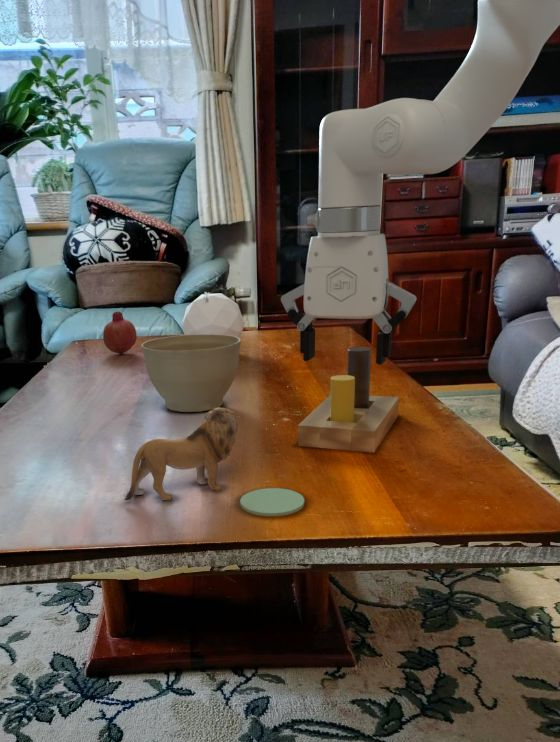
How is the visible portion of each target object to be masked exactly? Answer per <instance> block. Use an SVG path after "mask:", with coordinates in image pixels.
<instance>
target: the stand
mask: <svg viewBox="0 0 560 742" xmlns="http://www.w3.org/2000/svg"><path fill="white" fill-rule="evenodd" d="M399 404H400V397H399V396H383V395H369V409H365V408H354V423H352V422H338V421H330V395H329V396H327V397H326V398H325V399H324V400H323V401H321V403H320V404H319V405H318V406H316V408H314V409H313V411H311V413H309V414H308V415H307V416H306V417H305V418H304V419H303V420H302V421H301V422H300V423H299V424H298V425H297V446H298V447H306V448H307V447H308V448H318V449H319V448H320V449H329V450H342V451H353V452H354V451H355V452H364V453H375V452H376V451H377V449H378V447H379V446H380V444H381V443H382V441H383V440H384V438H385V436H386V435H387V434H388V432H389V431H390V429H391V428H392V426H393V425H394V423H395V421H396V420H397V419H398V417H399V406H400V405H399Z"/></svg>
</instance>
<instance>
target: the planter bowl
mask: <svg viewBox="0 0 560 742" xmlns="http://www.w3.org/2000/svg"><path fill="white" fill-rule="evenodd" d="M241 345H242V340H241V338H238V337H236V336H231V335H220V334H191V335H184V334H179V335H171V336H165V337H158V338H153V339H149V340H147V341H145V342H142V343H141V345H140V346H141V351H142V354H143V359H144V364H145V369H146V372H147V375H148V378H149V380H150V382H151V384H152V386H153V388H154V389H155V390H156V392H157V393H158V394H159V395H160V397H161V398H162V399H163V400H164V404H165V407H166V408H167V409H168V410H170V411H174V412H181V413H197V412H198V413H199V412H205V411H206V412H207V411H212V410H213V409H214V408H219V407H220V408H221V406H222V405H223V403H224V397H225V395H226V394H227V393H228V391H229V390H230V388H231V386H232V384H233V382H234V381H235V378H236V375H237V372H238V368H239V363H240V348H241Z"/></svg>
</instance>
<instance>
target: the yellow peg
mask: <svg viewBox="0 0 560 742" xmlns="http://www.w3.org/2000/svg"><path fill="white" fill-rule="evenodd" d="M329 391H330V392H329V393H330V395H329V396H330V421H338V422H352V423H354V395H355V377H354V376H350V375H347V374H338V375H333V376H331V377H330V390H329Z"/></svg>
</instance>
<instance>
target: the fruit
mask: <svg viewBox="0 0 560 742" xmlns="http://www.w3.org/2000/svg"><path fill="white" fill-rule="evenodd" d="M111 317H112V319H111V321H109V322H108V323H107V322H106V324H105V325H104V327H103V332H102V339H103V340H102V341H103V344H104V345H105V347H106V349H108V350H109V351H110V352H112V353H115V354H119V355H123V354H124V353H127V352H128V351H129V350H131V349H132V347H134V345H135V344H136V342H137V330H136V327H135V325H134V324H133V323H132V321H130V320H128V319H125V318H124V315H123V313H122V312H121V311H120V310H119V311H114V312H112V316H111Z"/></svg>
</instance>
